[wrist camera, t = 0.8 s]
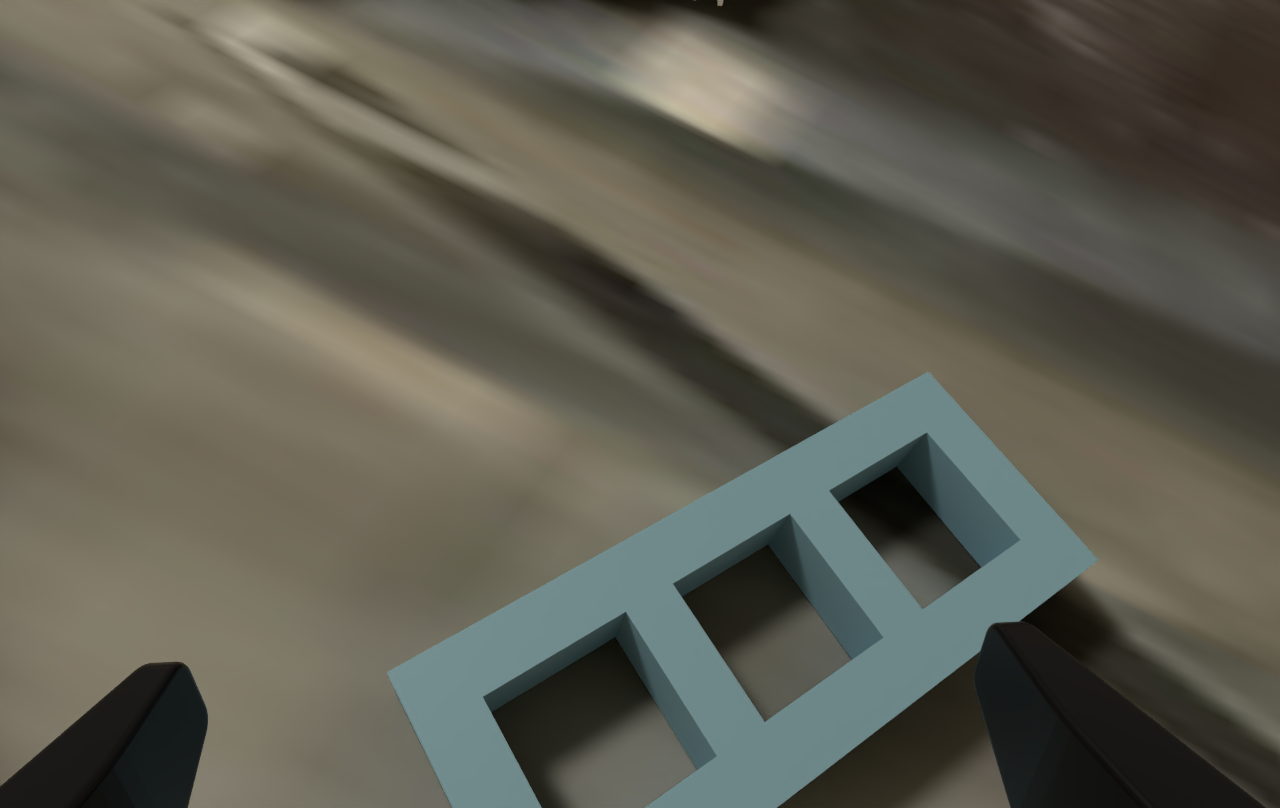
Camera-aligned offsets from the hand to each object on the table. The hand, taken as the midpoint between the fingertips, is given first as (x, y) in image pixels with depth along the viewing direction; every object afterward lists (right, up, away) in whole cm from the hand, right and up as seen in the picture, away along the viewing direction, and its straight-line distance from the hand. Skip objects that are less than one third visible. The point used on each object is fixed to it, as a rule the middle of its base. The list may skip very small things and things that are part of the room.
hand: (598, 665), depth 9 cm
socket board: (+4, -4, +17) cm, 17 cm away
